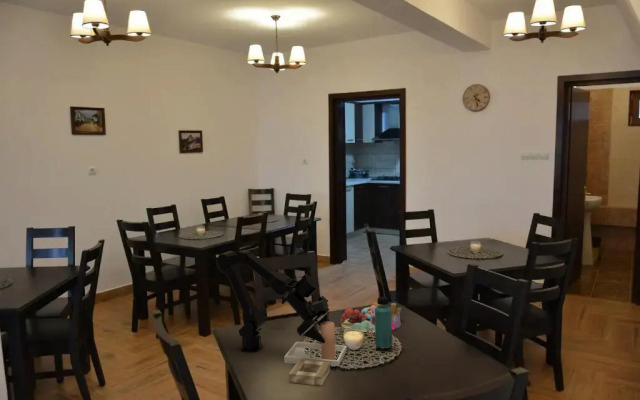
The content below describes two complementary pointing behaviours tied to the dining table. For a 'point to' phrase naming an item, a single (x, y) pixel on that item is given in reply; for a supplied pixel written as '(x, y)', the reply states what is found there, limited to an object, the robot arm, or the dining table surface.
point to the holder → (309, 372)
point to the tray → (299, 354)
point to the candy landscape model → (367, 318)
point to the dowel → (328, 340)
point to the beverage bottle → (383, 324)
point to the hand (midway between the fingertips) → (329, 337)
